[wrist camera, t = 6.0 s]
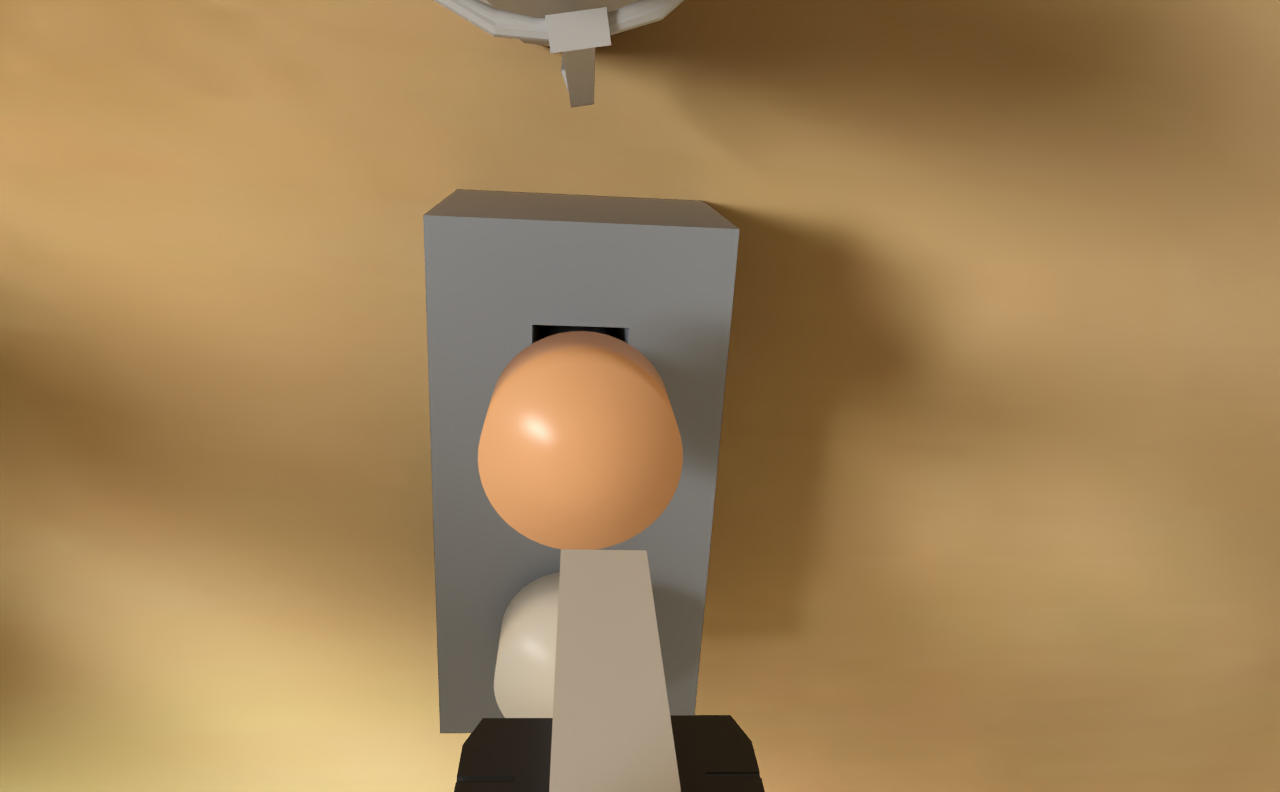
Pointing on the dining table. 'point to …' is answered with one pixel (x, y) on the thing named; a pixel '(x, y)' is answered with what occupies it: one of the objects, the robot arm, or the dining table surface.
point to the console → (511, 320)
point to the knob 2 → (580, 441)
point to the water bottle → (564, 29)
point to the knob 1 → (528, 651)
